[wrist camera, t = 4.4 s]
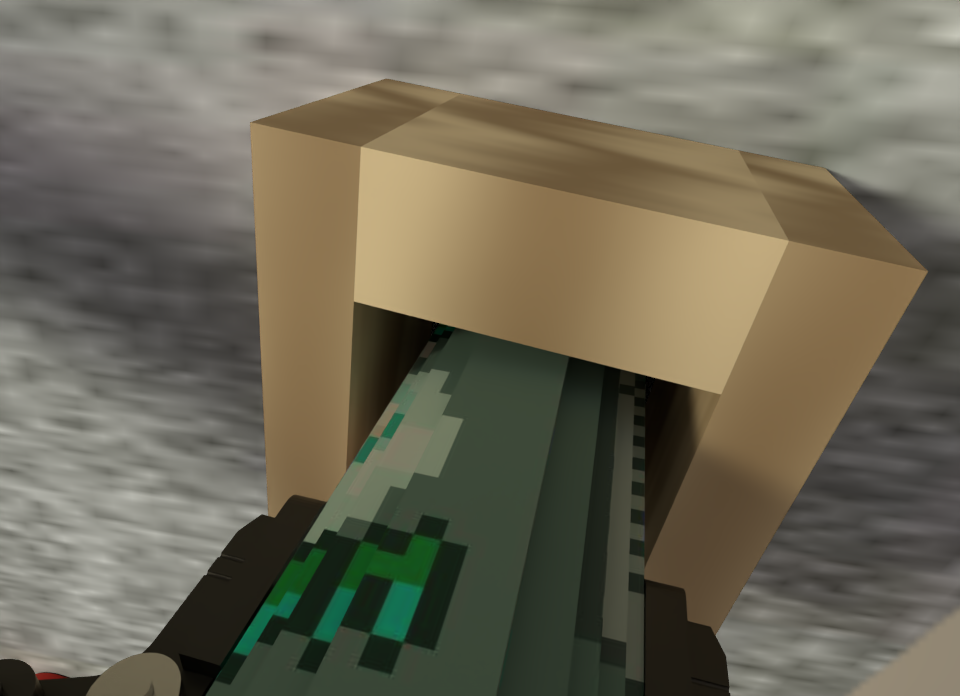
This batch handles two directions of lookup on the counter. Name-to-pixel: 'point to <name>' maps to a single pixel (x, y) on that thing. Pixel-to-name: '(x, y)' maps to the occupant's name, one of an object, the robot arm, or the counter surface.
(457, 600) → the can
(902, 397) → the counter surface
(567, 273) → the bore block
